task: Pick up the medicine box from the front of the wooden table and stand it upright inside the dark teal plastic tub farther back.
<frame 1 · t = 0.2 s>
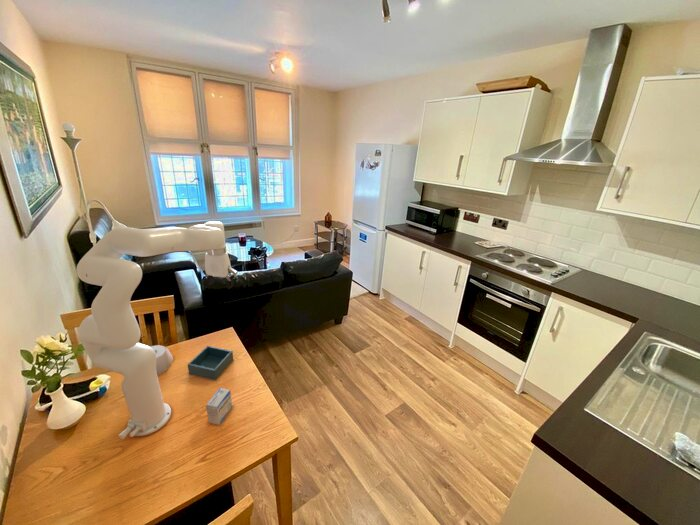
hand: (220, 285, 129), 31 cm above the table, tool pointing down, fingers open, 9 cm apart
medicine box: (221, 415, 104), on the table
tub: (212, 366, 125), on the table
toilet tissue: (159, 366, 123), on the table
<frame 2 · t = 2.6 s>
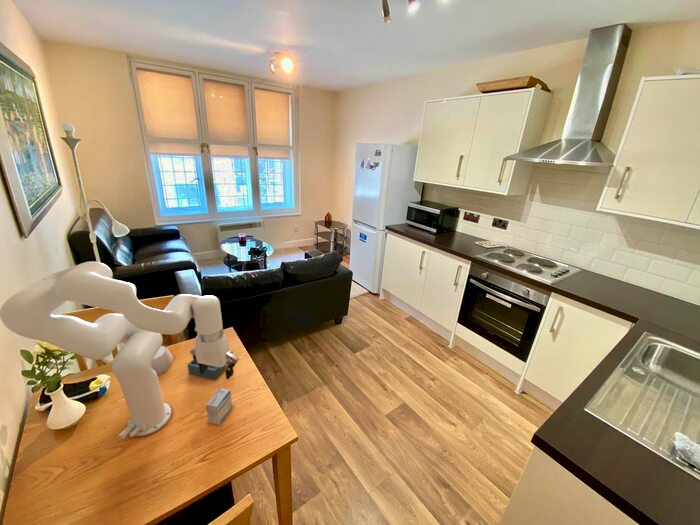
hand: (216, 373, 98), 18 cm above the table, tool pointing down, fingers open, 9 cm apart
nothing on the table moved.
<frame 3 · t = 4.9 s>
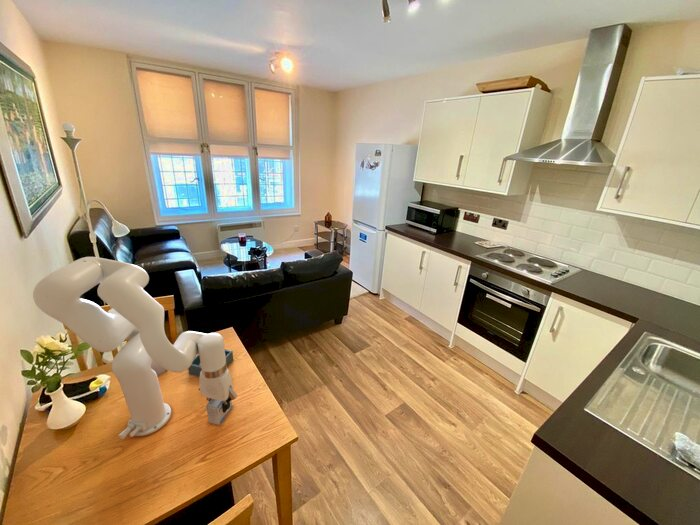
hand: (219, 407, 103), 4 cm above the table, tool pointing down, fingers closed on medicine box, 4 cm apart
medicine box: (221, 415, 104), on the table, touching gripper
everything else where it was.
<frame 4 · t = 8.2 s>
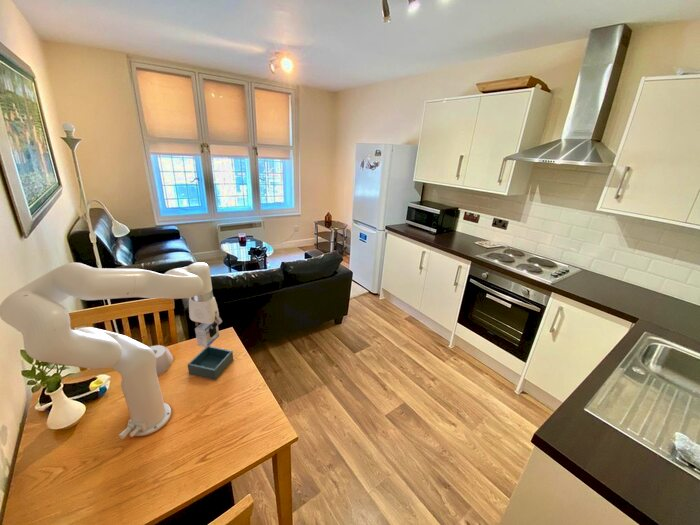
hand: (207, 333, 116), 19 cm above the table, tool pointing down, fingers closed on medicine box, 4 cm apart
medicine box: (208, 341, 117), point 15 cm above the table, touching gripper
everything else where it was.
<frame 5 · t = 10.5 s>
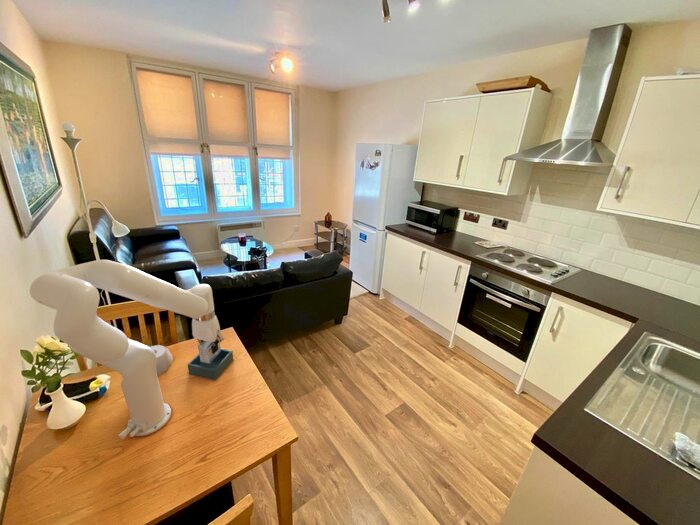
hand: (209, 350, 122), 9 cm above the table, tool pointing down, fingers closed on medicine box, 4 cm apart
medicine box: (211, 357, 123), point 5 cm above the table, touching gripper
everything else where it was.
when the fingers open (4 cm above the table, at t = 12.0 s): medicine box stays where it is, resting on tub.
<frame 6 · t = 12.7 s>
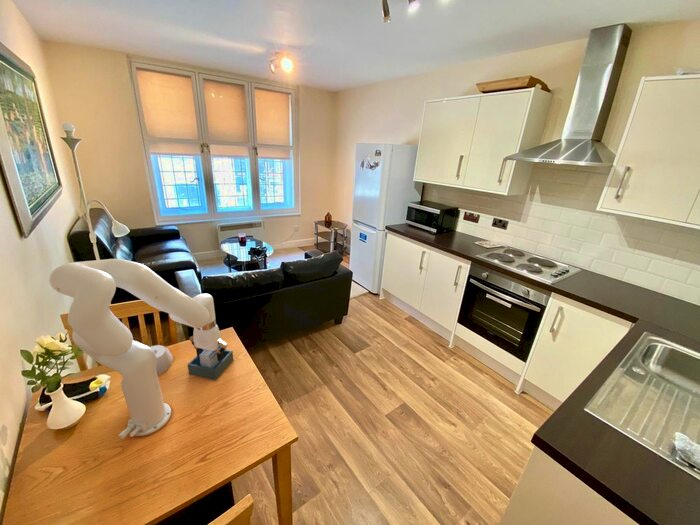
hand: (210, 356, 123), 6 cm above the table, tool pointing down, fingers open, 9 cm apart
medicine box: (212, 365, 125), resting on tub
everything else where it was.
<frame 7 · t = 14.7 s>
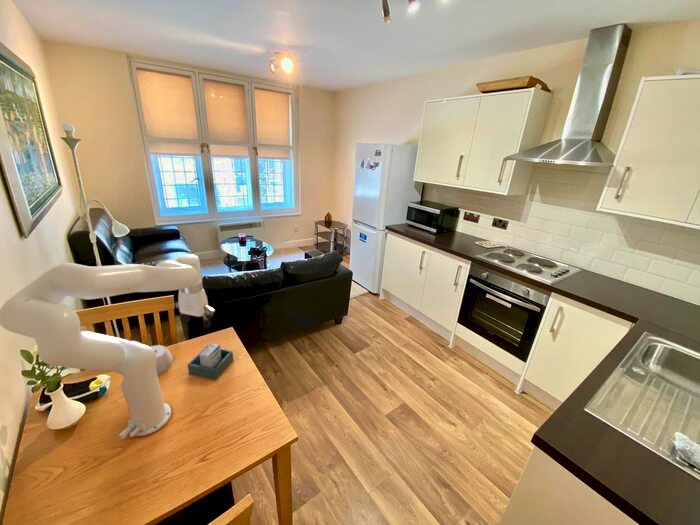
hand: (197, 324, 116), 22 cm above the table, tool pointing down, fingers open, 9 cm apart
nothing on the table moved.
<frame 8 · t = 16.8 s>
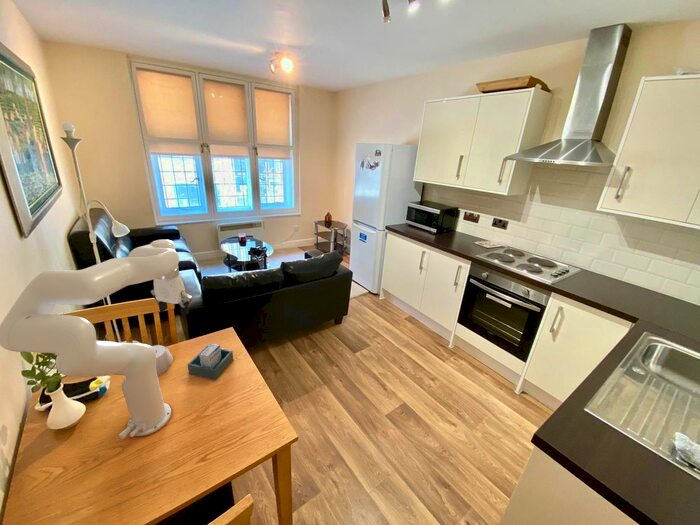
hand: (174, 312, 112), 28 cm above the table, tool pointing down, fingers open, 9 cm apart
nothing on the table moved.
at the end: medicine box inside the target area in the tub (0.1 cm from its centre), point 0.4 cm above the tub's base; medicine box tilted 0°; the gripper is holding nothing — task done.
